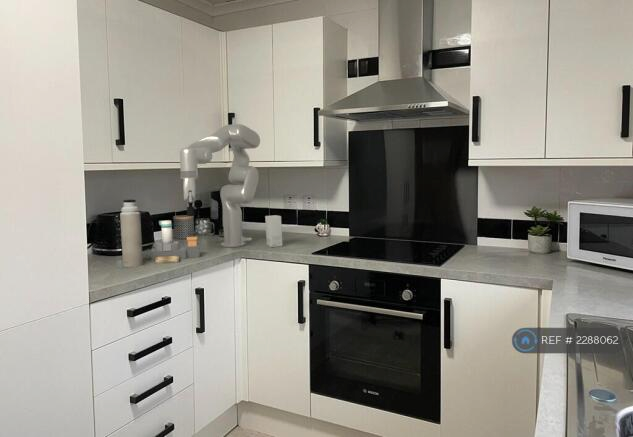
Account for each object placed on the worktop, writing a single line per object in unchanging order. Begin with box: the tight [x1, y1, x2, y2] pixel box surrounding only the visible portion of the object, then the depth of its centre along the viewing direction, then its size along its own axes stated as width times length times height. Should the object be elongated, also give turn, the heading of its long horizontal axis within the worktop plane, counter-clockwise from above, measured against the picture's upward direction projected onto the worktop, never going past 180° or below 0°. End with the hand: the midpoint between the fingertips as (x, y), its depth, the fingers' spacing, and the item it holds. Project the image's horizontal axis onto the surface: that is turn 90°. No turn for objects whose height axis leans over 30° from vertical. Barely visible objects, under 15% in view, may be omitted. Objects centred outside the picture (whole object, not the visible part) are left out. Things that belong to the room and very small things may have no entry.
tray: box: [154, 256, 180, 265], centre depth 223 cm, size 10×8×2 cm
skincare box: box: [264, 214, 284, 248], centre depth 260 cm, size 8×7×16 cm
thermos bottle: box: [119, 199, 144, 268], centre depth 215 cm, size 8×8×28 cm
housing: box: [150, 240, 200, 261], centre depth 232 cm, size 21×10×7 cm, turn 104°
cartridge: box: [158, 219, 173, 244], centre depth 231 cm, size 5×5×13 cm
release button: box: [186, 236, 198, 247], centre depth 234 cm, size 5×5×6 cm
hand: (190, 215), depth 232 cm, fingers closed
